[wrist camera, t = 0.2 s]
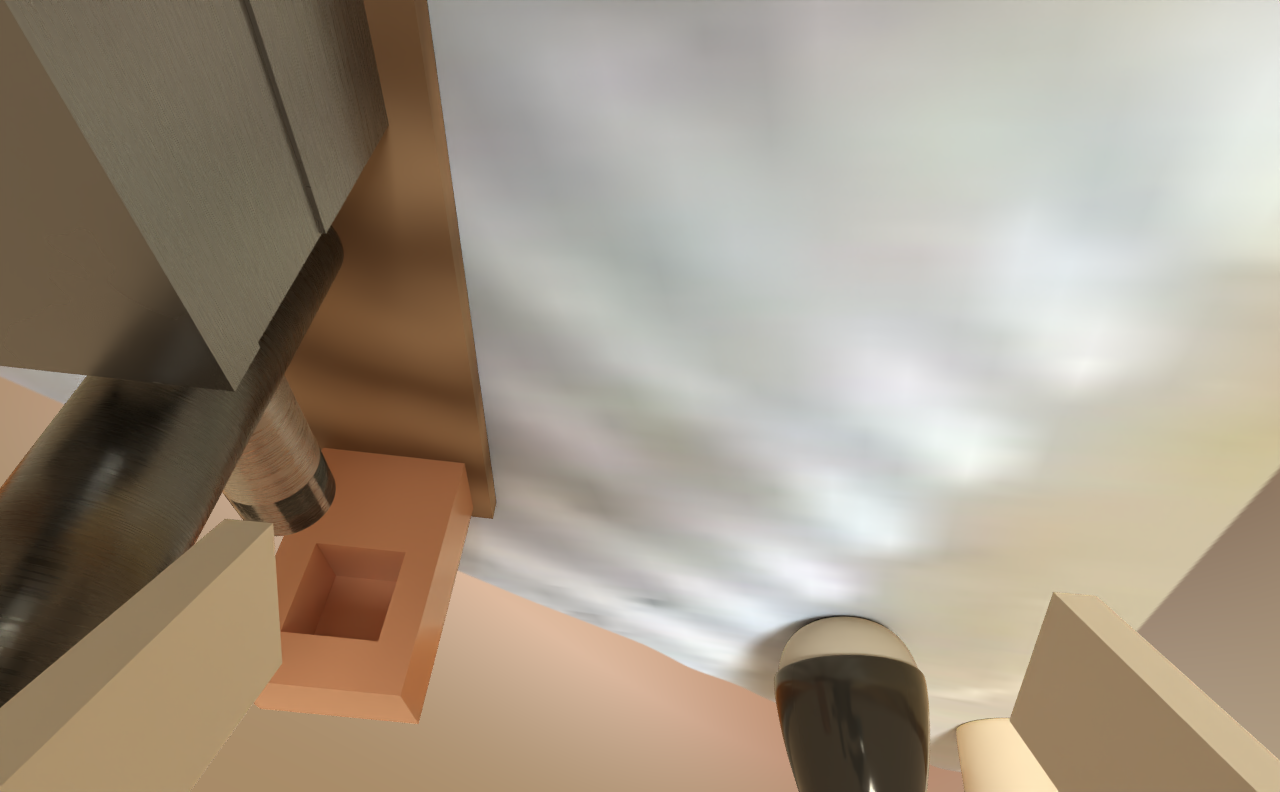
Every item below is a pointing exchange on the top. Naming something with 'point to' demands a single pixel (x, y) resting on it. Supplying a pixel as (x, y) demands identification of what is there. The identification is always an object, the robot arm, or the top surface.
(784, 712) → the pump dispenser
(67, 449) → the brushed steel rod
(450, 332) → the base board
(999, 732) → the candle holder
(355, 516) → the socket
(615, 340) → the top surface
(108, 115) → the box on wooden plank
